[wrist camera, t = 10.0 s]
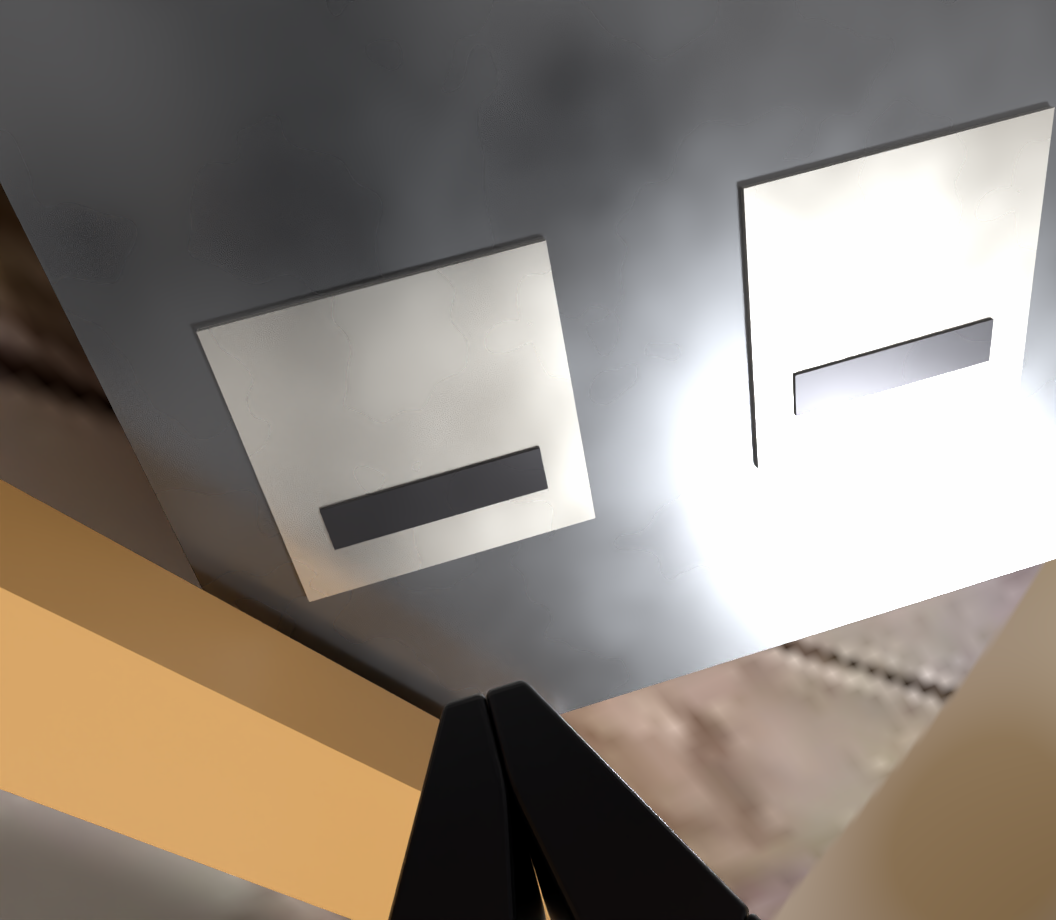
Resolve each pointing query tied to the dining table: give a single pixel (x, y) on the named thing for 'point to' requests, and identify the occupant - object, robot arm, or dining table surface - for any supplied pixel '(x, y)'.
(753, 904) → the dining table surface
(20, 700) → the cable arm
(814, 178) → the power supply unit
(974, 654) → the dining table surface
